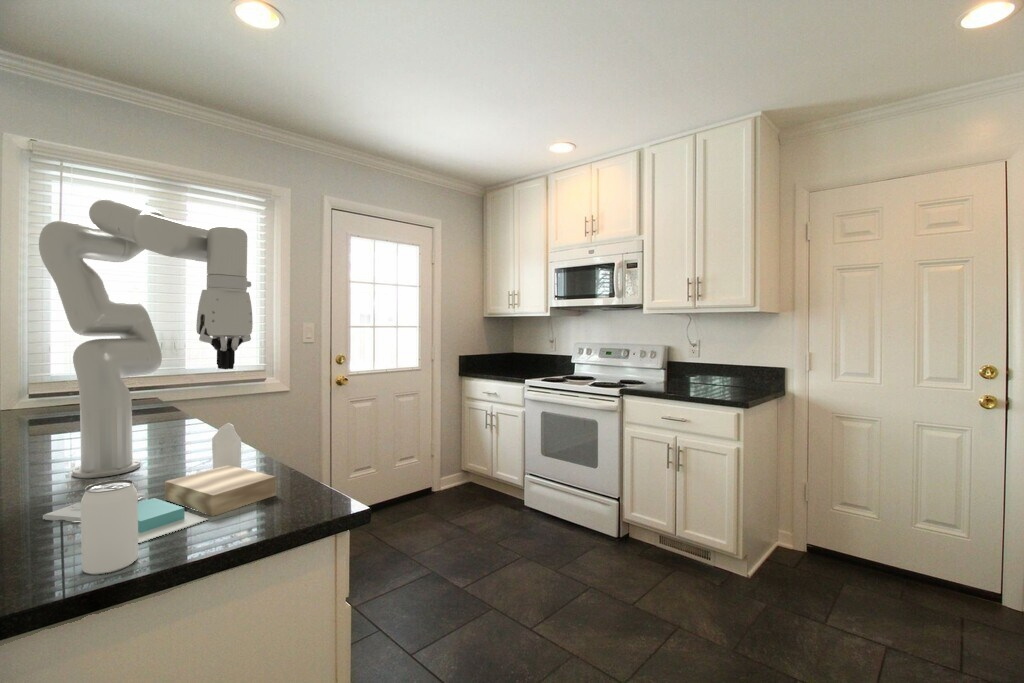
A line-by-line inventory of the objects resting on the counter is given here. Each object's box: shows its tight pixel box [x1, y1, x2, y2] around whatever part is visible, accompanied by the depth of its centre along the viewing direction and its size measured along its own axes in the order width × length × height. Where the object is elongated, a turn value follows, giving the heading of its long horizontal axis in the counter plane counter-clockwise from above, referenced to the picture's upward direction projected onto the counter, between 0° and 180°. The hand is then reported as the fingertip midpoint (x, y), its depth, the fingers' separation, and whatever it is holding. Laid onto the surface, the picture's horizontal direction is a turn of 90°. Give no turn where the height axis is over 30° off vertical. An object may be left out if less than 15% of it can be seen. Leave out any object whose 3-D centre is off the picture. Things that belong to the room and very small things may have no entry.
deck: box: [164, 465, 276, 517], centre depth 100 cm, size 16×13×4 cm
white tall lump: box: [211, 422, 242, 469], centre depth 116 cm, size 6×12×6 cm
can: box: [80, 478, 139, 576], centre depth 72 cm, size 6×6×12 cm
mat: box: [138, 510, 209, 544], centre depth 88 cm, size 18×11×1 cm, turn 62°
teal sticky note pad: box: [138, 497, 185, 533], centre depth 88 cm, size 10×7×2 cm
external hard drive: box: [42, 492, 144, 522], centre depth 94 cm, size 2×8×12 cm
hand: (225, 368), depth 107 cm, fingers closed
